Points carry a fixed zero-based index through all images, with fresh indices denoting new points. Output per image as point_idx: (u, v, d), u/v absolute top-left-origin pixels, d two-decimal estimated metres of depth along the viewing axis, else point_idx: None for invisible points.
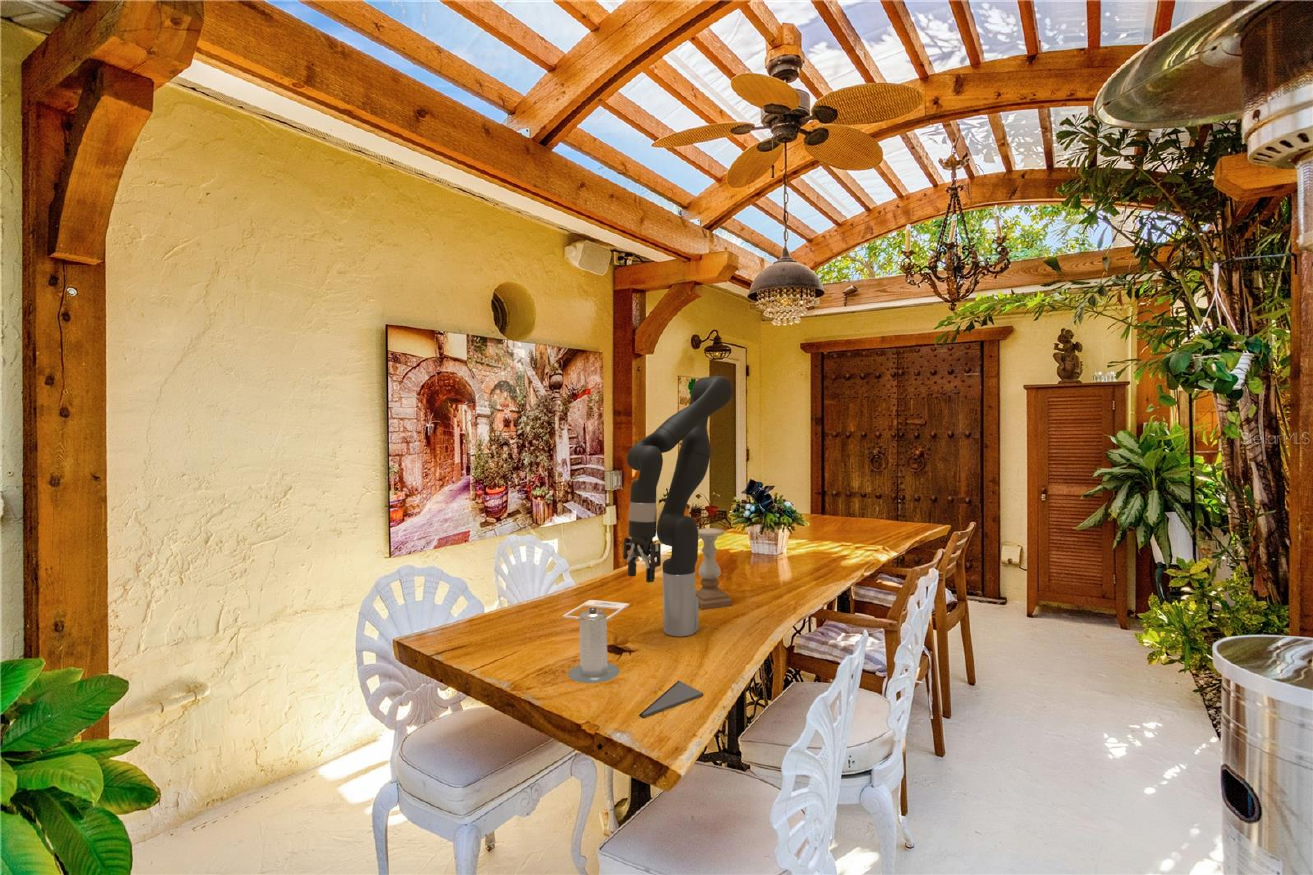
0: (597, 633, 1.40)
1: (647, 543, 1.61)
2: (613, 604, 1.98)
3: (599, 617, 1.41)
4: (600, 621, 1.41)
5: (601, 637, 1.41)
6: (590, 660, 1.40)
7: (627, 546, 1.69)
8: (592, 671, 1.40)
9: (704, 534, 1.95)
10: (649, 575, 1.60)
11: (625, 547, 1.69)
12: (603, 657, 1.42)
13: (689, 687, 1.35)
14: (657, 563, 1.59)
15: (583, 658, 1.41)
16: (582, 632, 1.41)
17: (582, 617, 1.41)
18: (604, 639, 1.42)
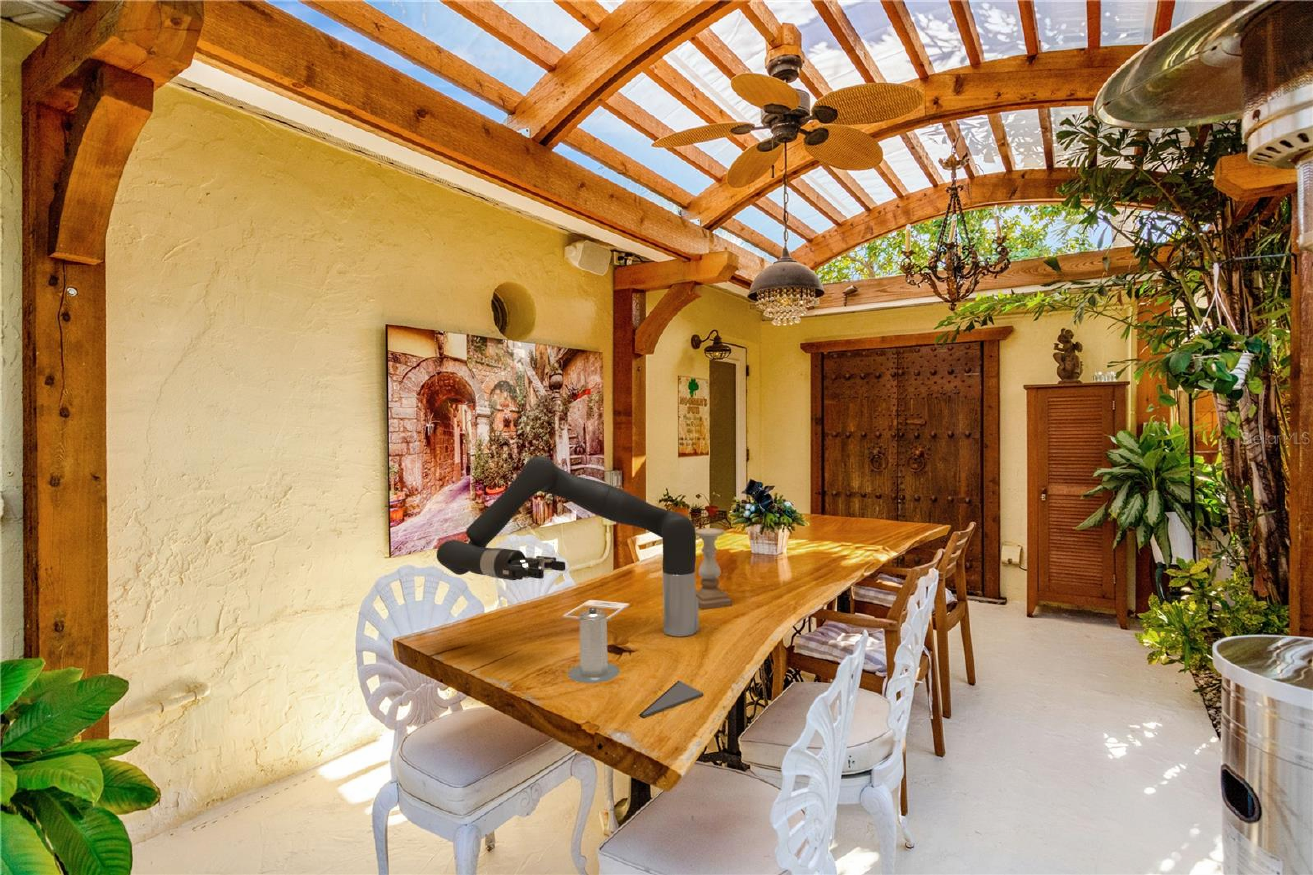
0: (597, 633, 1.40)
1: None
2: (613, 604, 1.98)
3: (599, 617, 1.41)
4: (600, 621, 1.41)
5: (601, 637, 1.41)
6: (590, 660, 1.40)
7: None
8: (592, 671, 1.40)
9: (704, 534, 1.95)
10: (534, 576, 1.45)
11: (544, 566, 1.57)
12: (603, 657, 1.42)
13: (689, 687, 1.35)
14: (517, 573, 1.44)
15: (583, 658, 1.41)
16: (582, 632, 1.41)
17: (582, 617, 1.41)
18: (604, 639, 1.42)
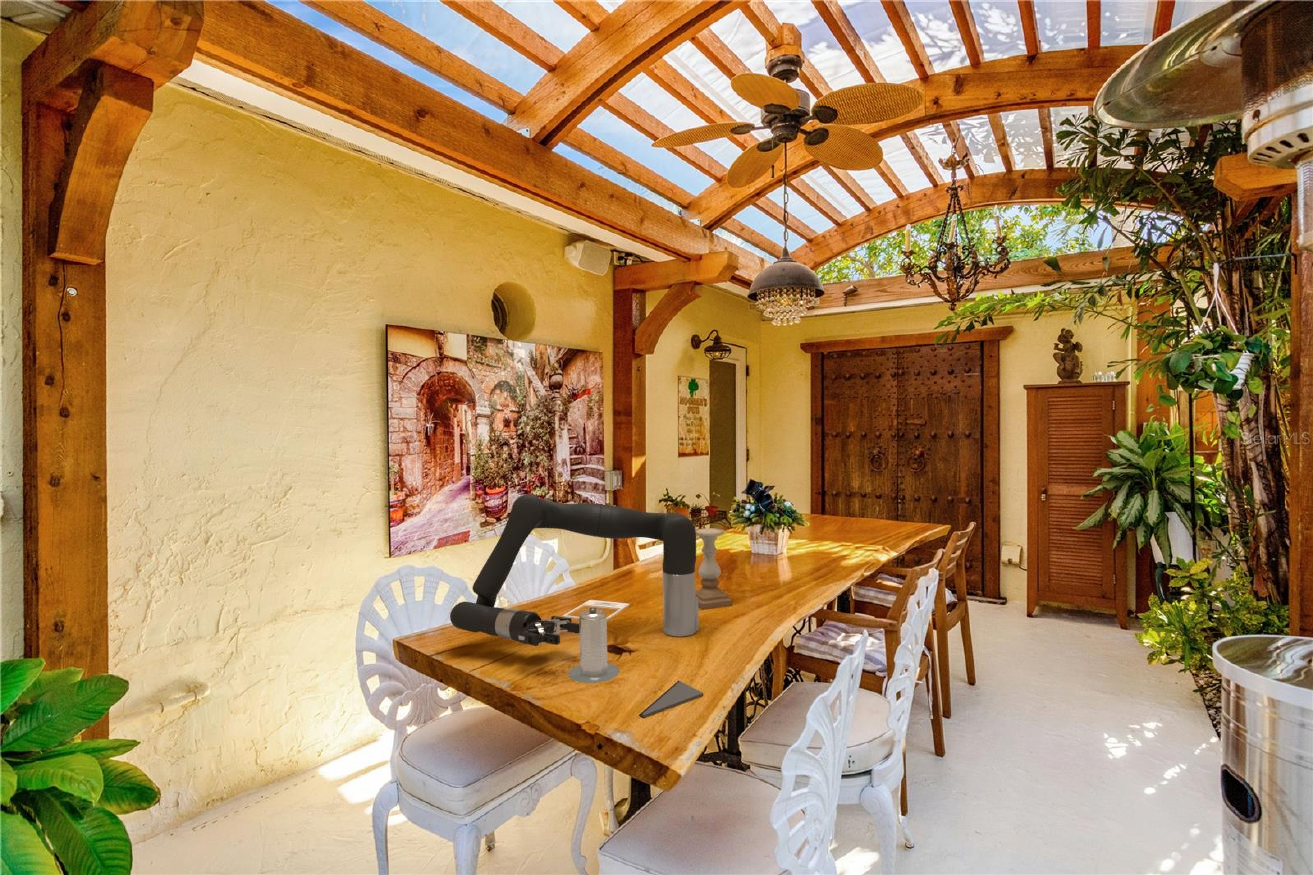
0: (597, 633, 1.40)
1: None
2: (613, 604, 1.98)
3: (599, 617, 1.41)
4: (600, 621, 1.41)
5: (601, 637, 1.41)
6: (590, 660, 1.40)
7: None
8: (592, 671, 1.40)
9: (704, 534, 1.95)
10: (550, 642, 1.43)
11: None
12: (603, 657, 1.42)
13: (689, 687, 1.35)
14: (533, 639, 1.43)
15: (583, 658, 1.41)
16: (582, 632, 1.41)
17: (582, 617, 1.41)
18: (604, 639, 1.42)
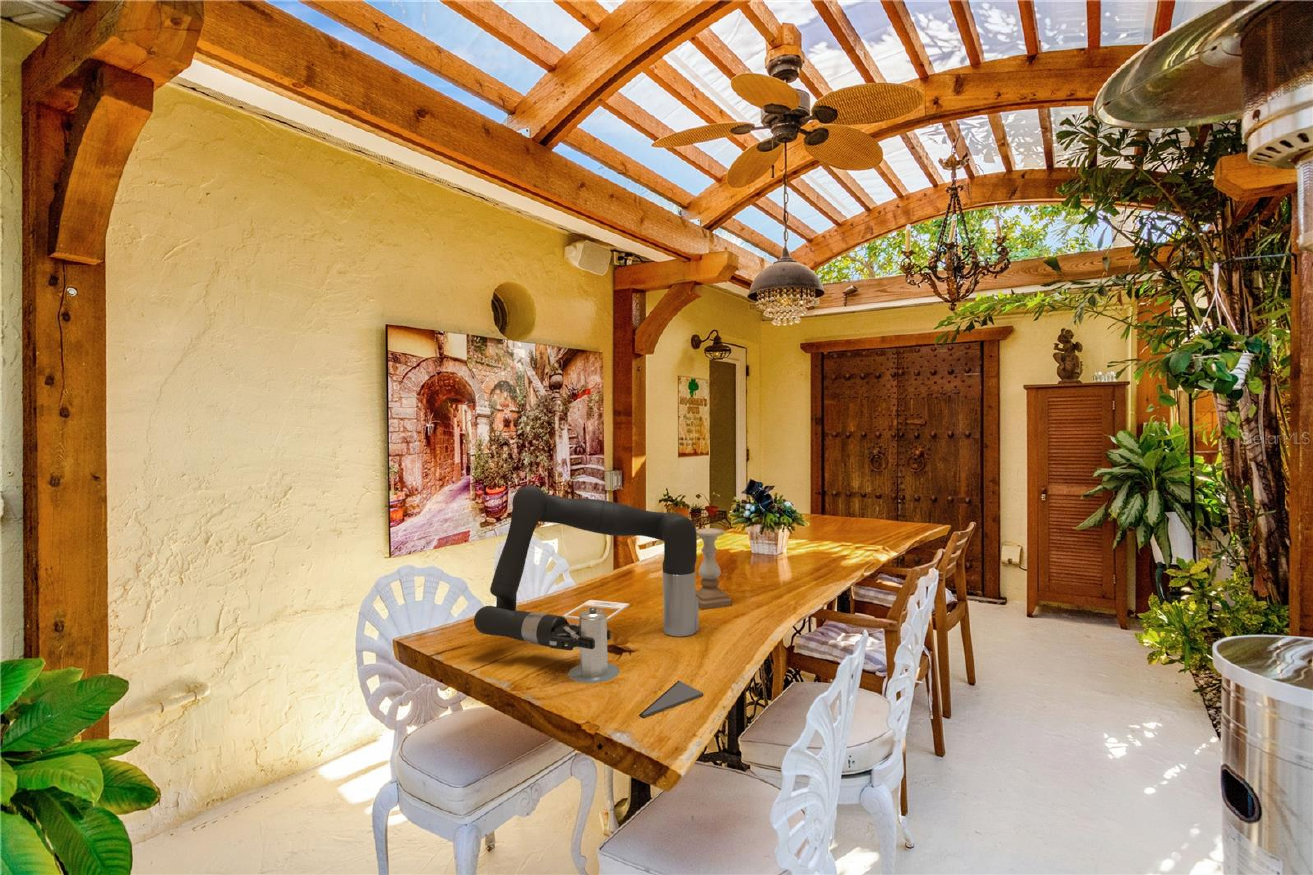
0: (597, 633, 1.40)
1: None
2: (613, 604, 1.98)
3: (599, 617, 1.41)
4: (600, 621, 1.41)
5: (601, 637, 1.41)
6: (590, 660, 1.40)
7: None
8: (592, 671, 1.40)
9: (704, 534, 1.95)
10: None
11: None
12: (603, 657, 1.42)
13: (689, 687, 1.35)
14: (567, 643, 1.39)
15: (583, 658, 1.41)
16: (582, 632, 1.41)
17: (582, 617, 1.41)
18: (604, 639, 1.42)
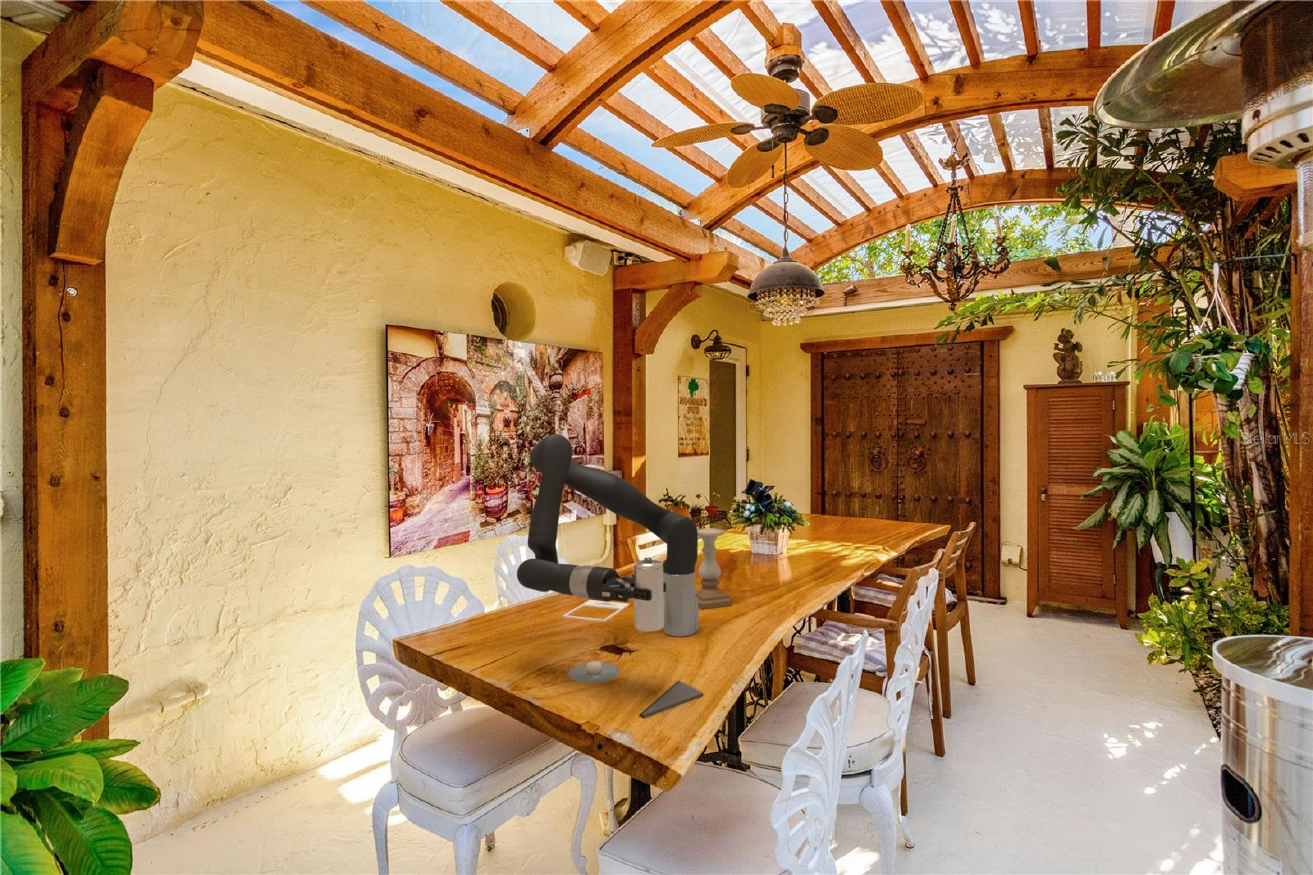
0: (654, 583, 1.30)
1: None
2: (613, 604, 1.98)
3: (656, 567, 1.31)
4: (657, 571, 1.31)
5: (658, 588, 1.31)
6: (646, 613, 1.30)
7: None
8: (648, 624, 1.30)
9: (704, 534, 1.95)
10: (641, 598, 1.29)
11: None
12: (660, 610, 1.31)
13: (689, 687, 1.35)
14: (622, 594, 1.29)
15: (638, 611, 1.31)
16: (637, 583, 1.31)
17: (638, 566, 1.31)
18: (660, 591, 1.32)
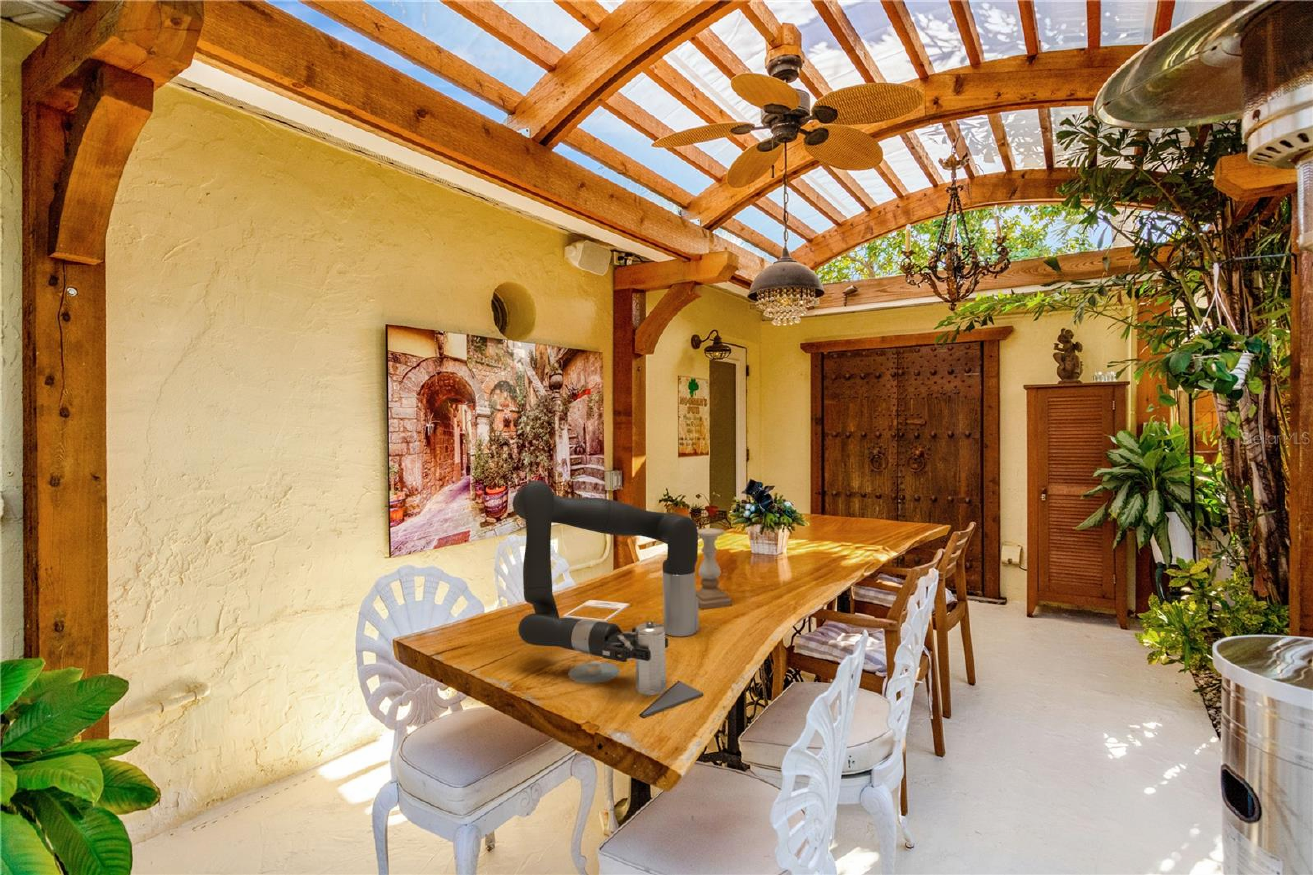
0: (656, 649, 1.31)
1: None
2: (613, 604, 1.98)
3: (658, 632, 1.31)
4: (659, 637, 1.31)
5: (660, 653, 1.31)
6: (648, 678, 1.30)
7: None
8: (650, 690, 1.31)
9: (704, 534, 1.95)
10: None
11: None
12: (662, 675, 1.32)
13: (689, 687, 1.35)
14: (621, 654, 1.29)
15: (640, 676, 1.31)
16: None
17: (640, 632, 1.31)
18: (662, 656, 1.32)
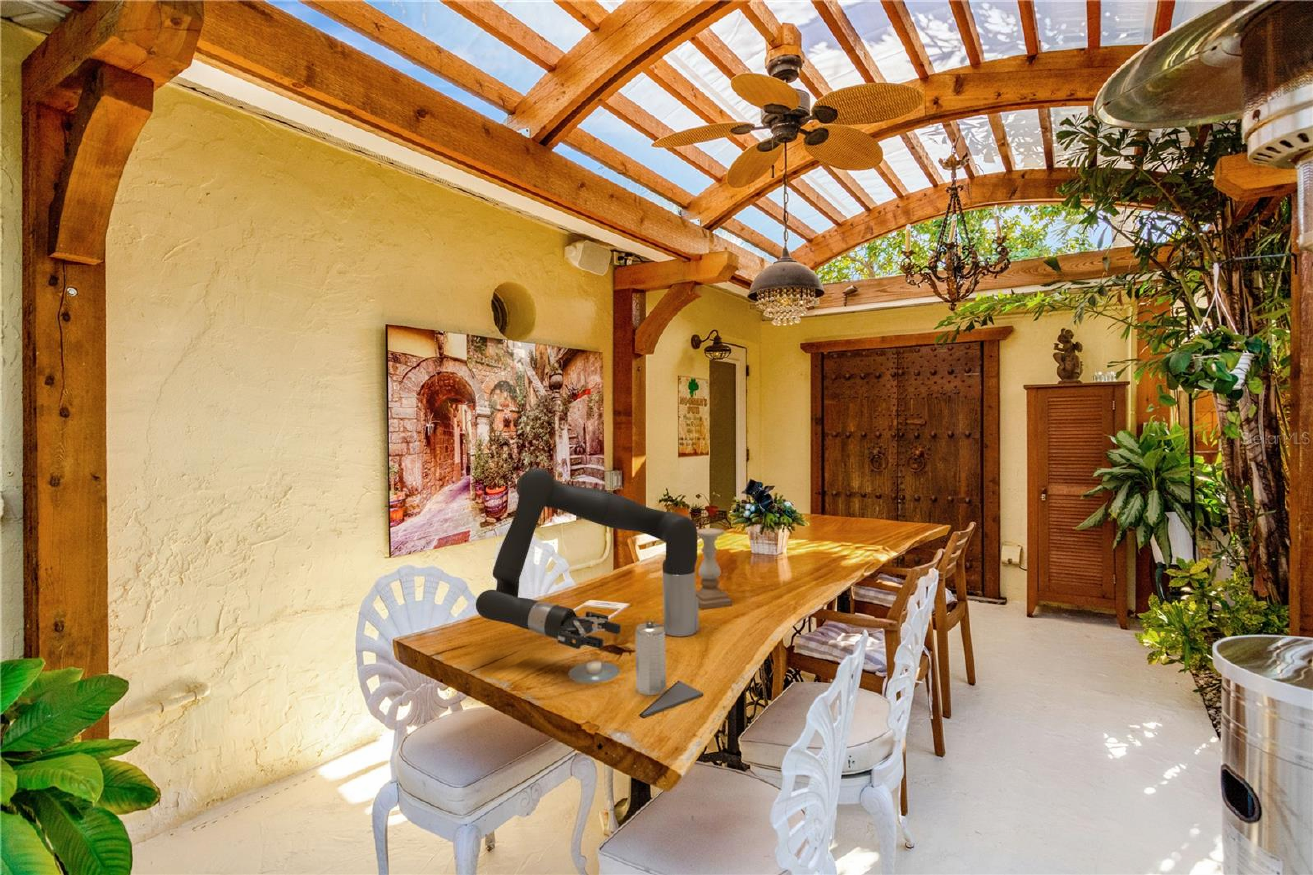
0: (656, 649, 1.31)
1: None
2: (613, 604, 1.98)
3: (658, 632, 1.31)
4: (659, 637, 1.31)
5: (660, 653, 1.31)
6: (648, 678, 1.30)
7: (593, 622, 1.49)
8: (650, 690, 1.31)
9: (704, 534, 1.95)
10: None
11: None
12: (662, 675, 1.32)
13: (689, 687, 1.35)
14: (575, 642, 1.36)
15: (640, 676, 1.31)
16: (639, 648, 1.31)
17: (640, 632, 1.31)
18: (662, 656, 1.32)
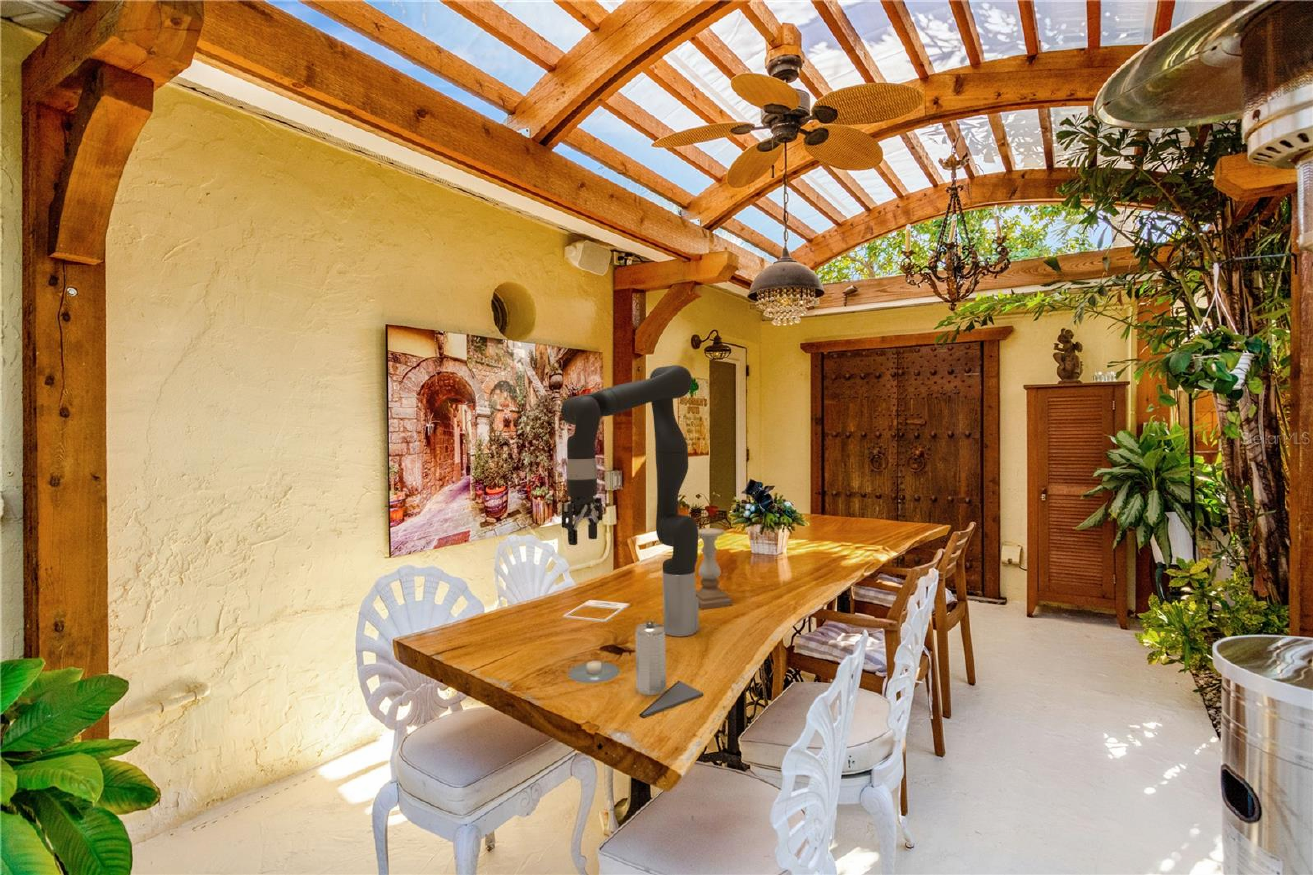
0: (656, 649, 1.31)
1: (570, 502, 1.49)
2: (613, 604, 1.98)
3: (658, 632, 1.31)
4: (659, 637, 1.31)
5: (660, 653, 1.31)
6: (648, 678, 1.30)
7: None
8: (650, 690, 1.31)
9: (704, 534, 1.95)
10: None
11: None
12: (662, 675, 1.32)
13: (689, 687, 1.35)
14: (566, 524, 1.45)
15: (640, 676, 1.31)
16: (639, 648, 1.31)
17: (640, 632, 1.31)
18: (662, 656, 1.32)
